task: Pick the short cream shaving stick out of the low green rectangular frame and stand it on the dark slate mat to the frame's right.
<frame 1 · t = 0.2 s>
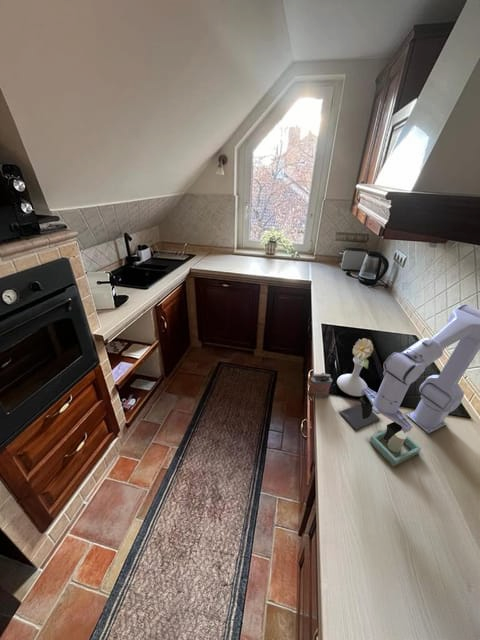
hand: (375, 427, 74), 10 cm above the worktop, tool pointing down, fingers open, 7 cm apart
lighter: (317, 394, 98), on the worktop
shaving stick: (396, 440, 78), in the green rectangular frame
flower in vase: (351, 389, 100), on the worktop
green rectangular frame: (393, 447, 79), on the worktop
slate mat: (359, 416, 89), on the worktop
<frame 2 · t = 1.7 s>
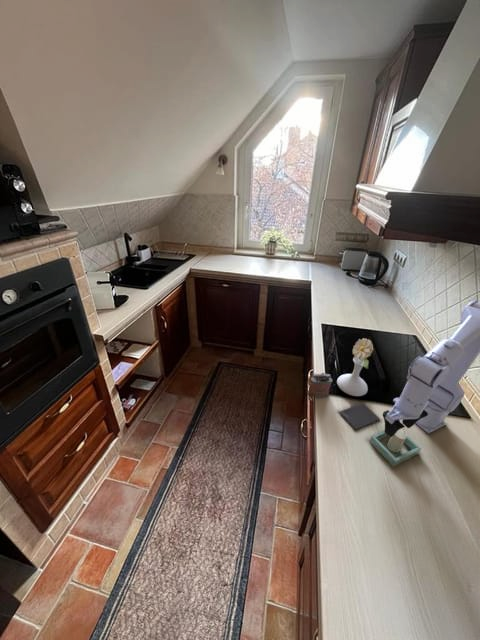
hand: (397, 429, 75), 8 cm above the worktop, tool pointing down, fingers open, 7 cm apart
nothing on the worktop moved.
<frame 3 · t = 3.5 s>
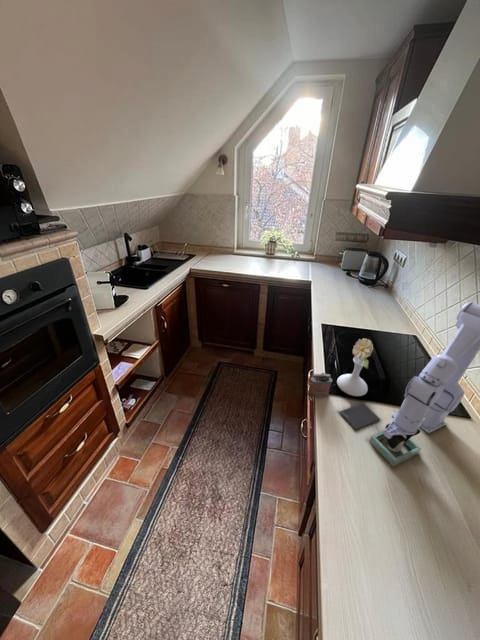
hand: (395, 443, 78), 2 cm above the worktop, tool pointing down, fingers closed on shaving stick, 3 cm apart
shaving stick: (396, 440, 78), in the green rectangular frame, touching gripper
everything else where it was.
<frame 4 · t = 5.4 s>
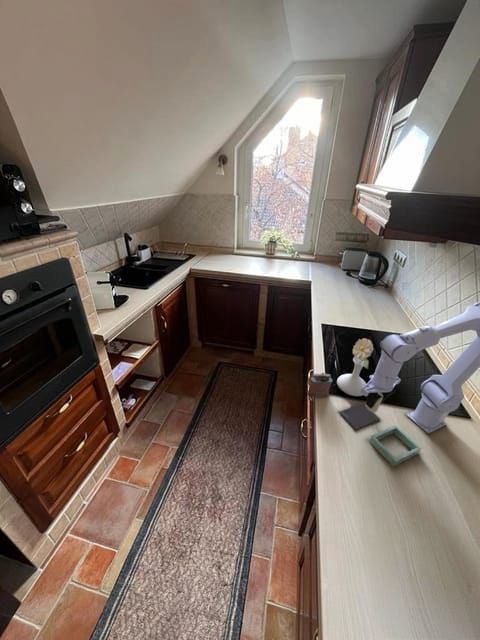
hand: (373, 404, 83), 9 cm above the worktop, tool pointing down, fingers closed on shaving stick, 3 cm apart
shaving stick: (374, 401, 82), point 10 cm above the worktop, touching gripper
everything else where it was.
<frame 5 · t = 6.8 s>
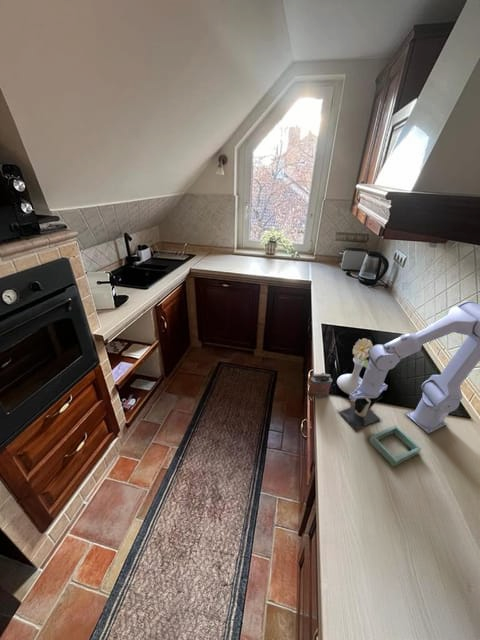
hand: (361, 409, 87), 4 cm above the worktop, tool pointing down, fingers closed on shaving stick, 3 cm apart
shaving stick: (362, 406, 87), point 5 cm above the worktop, touching gripper
everything else where it was.
when the fingers open (2 cm above the worktop, at t = 7.6 s): shaving stick stays where it is, resting on slate mat.
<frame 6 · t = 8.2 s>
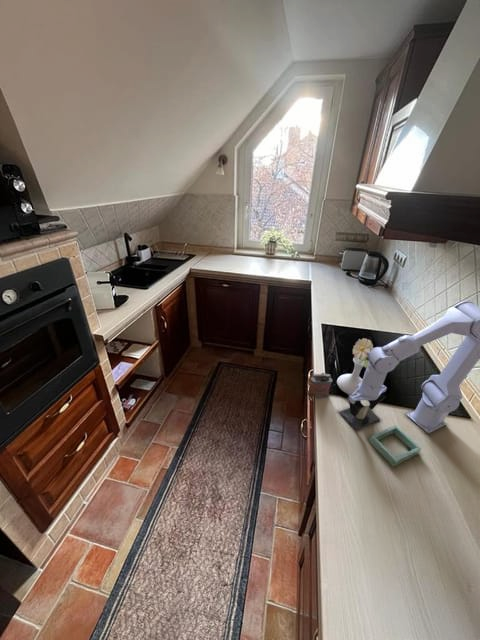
hand: (361, 410, 88), 3 cm above the worktop, tool pointing down, fingers open, 7 cm apart
shaving stick: (361, 408, 87), on the slate mat, point 4 cm above the worktop
everything else where it was.
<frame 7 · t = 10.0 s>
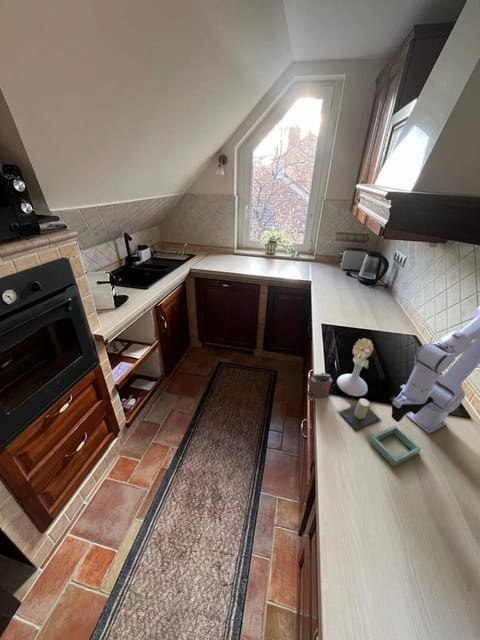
hand: (403, 415, 78), 9 cm above the worktop, tool pointing down, fingers open, 7 cm apart
nothing on the worktop moved.
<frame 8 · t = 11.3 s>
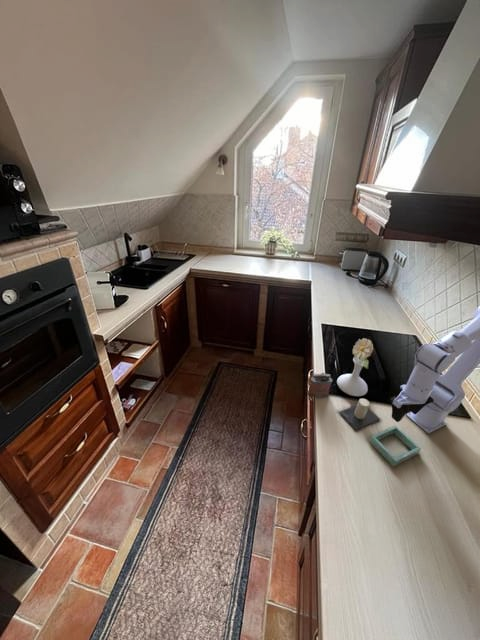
hand: (403, 415, 78), 9 cm above the worktop, tool pointing down, fingers open, 7 cm apart
nothing on the worktop moved.
at the end: shaving stick inside the target area on the slate mat (0.0 cm from its centre), point 3.8 cm above the slate mat's base; shaving stick tilted 0°; the gripper is holding nothing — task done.
